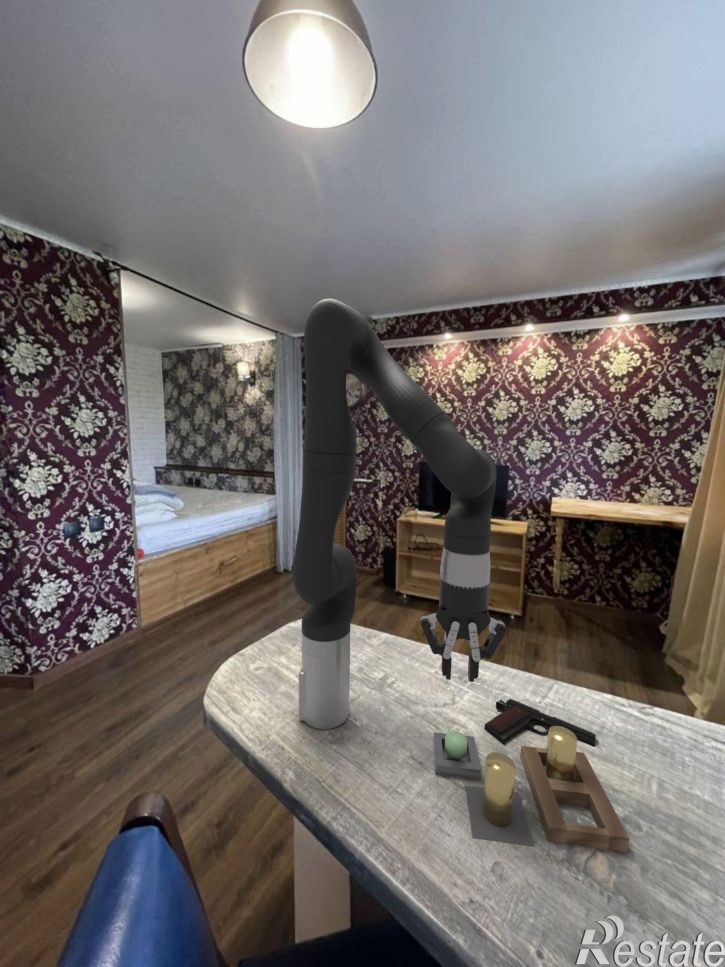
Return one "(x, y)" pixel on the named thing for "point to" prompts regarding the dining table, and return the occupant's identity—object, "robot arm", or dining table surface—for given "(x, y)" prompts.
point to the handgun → (528, 723)
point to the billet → (498, 789)
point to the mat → (487, 831)
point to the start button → (456, 745)
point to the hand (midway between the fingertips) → (459, 677)
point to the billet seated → (561, 754)
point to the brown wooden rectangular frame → (573, 803)
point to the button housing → (456, 767)
